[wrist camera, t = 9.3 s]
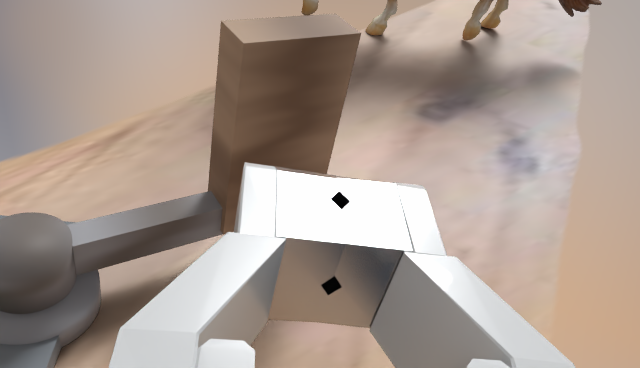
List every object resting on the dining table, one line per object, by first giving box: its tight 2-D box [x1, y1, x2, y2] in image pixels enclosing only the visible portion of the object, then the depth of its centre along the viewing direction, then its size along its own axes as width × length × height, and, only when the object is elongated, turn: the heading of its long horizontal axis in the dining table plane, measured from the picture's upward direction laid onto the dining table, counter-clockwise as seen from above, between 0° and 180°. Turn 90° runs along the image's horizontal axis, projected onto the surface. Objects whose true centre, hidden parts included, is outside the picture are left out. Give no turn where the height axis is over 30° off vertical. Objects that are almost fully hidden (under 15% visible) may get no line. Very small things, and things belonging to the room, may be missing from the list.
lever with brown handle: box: [0, 14, 361, 314], centre depth 19 cm, size 22×3×10 cm, turn 123°
